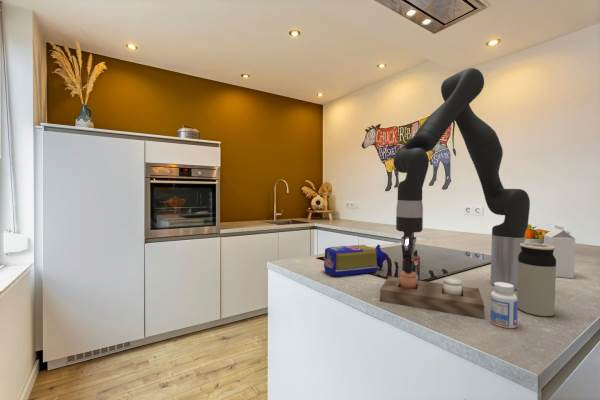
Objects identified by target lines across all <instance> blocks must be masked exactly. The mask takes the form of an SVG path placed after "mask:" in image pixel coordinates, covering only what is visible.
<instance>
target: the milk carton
mask: <svg viewBox="0 0 600 400" xmlns="http://www.w3.org/2000/svg"><path fill="white" fill-rule="evenodd" d="M543 235H544V236H543V244H546V245H551V246H554V247H555V249H554V252H553V255H554V257H555V258H556V278H565V279H574V278H575V257H576V256H575V255H576V254H575V252H576V238H575V237H574V236H572V235H571V232H570V231H569V230H568V229H565V227H563V226H558V225H555V226H554V228H553V229H551V230H550V231H548V232H546V233H545V234H543Z"/></svg>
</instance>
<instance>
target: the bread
mask: <svg viewBox="0 0 600 400" xmlns="http://www.w3.org/2000/svg"><path fill="white" fill-rule="evenodd" d="M388 258H389V255H388V254H387V253H386V252H384V251H383V250H381V245H380V244H377V245H376V246H375V247H373V246H368V245H366V244H356V245H355V244H353V245H352V244H351V245H341V246H331V247H326V248H325V249H324V259H323V262H324V263H323V267H324V271H325V273H326V274H328V275H330V276H332V277H334V278H338V277H339V278H341V277H347V276H355V275H356V276H358V275H364V274H372V273H373V272H374V273H376V272H377V269H378V268H379V269H380V270H382V269H383V267H384V262H385V261H386V260H387V259H388ZM374 273H373V274H374Z"/></svg>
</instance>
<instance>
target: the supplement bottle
mask: <svg viewBox="0 0 600 400" xmlns="http://www.w3.org/2000/svg"><path fill="white" fill-rule="evenodd" d="M413 257H414V259H413V263H412V271H413V272H415V273H416V280H418V281H421V277H420V275H421V257H420V256H419V254H418V249H417V248H415V252H414V256H413ZM401 263H402V264H401V265H402V267H401V269H402V271H404V259H403V258H402V262H401Z"/></svg>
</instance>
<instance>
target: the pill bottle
mask: <svg viewBox="0 0 600 400" xmlns="http://www.w3.org/2000/svg"><path fill="white" fill-rule="evenodd" d="M493 289H494V290H492V291H491V292H490V322H491V323H492V324H494V325H496V326H498V327H501V328H505V329H515V328H516V327H517V326H518V308H517V304H518V300H517V294H515V293H514V292H515V290H514V286H513V285H512V284H509V283H504V282H495V283H494V285H493Z"/></svg>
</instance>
